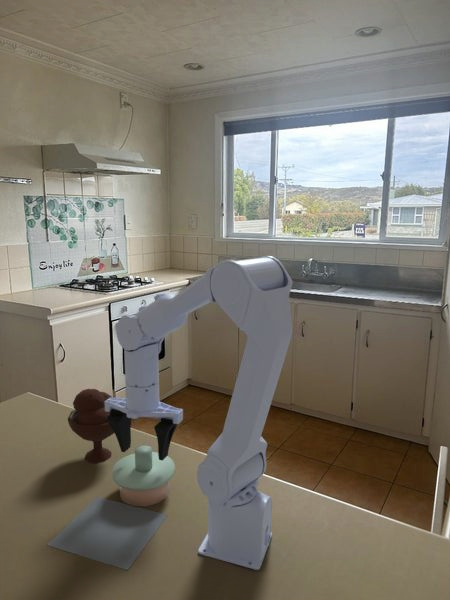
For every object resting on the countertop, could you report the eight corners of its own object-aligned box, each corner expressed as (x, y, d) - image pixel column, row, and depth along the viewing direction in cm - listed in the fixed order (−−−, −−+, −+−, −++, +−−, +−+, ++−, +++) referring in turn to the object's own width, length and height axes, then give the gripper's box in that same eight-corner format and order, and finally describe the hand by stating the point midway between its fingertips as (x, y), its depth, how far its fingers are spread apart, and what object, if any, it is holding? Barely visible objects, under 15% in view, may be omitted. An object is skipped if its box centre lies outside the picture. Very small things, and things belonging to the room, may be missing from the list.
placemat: (168, 516, 75) (168, 514, 75) (127, 571, 64) (127, 570, 63) (97, 497, 80) (97, 496, 80) (47, 546, 68) (47, 545, 68)
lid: (184, 462, 84) (184, 440, 83) (156, 496, 74) (156, 472, 73) (133, 451, 88) (132, 430, 87) (99, 482, 78) (98, 459, 77)
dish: (178, 482, 85) (178, 463, 84) (155, 511, 76) (154, 490, 75) (136, 473, 87) (135, 454, 87) (109, 500, 79) (108, 479, 78)
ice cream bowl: (112, 474, 87) (109, 401, 84) (59, 467, 89) (55, 396, 86) (133, 446, 97) (131, 381, 94) (86, 441, 99) (82, 376, 97)
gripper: (92, 383, 77) (96, 456, 79) (169, 395, 72) (170, 473, 74) (116, 370, 83) (118, 438, 86) (187, 380, 78) (188, 452, 81)
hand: (144, 453), depth 80 cm, fingers open, 7 cm apart
